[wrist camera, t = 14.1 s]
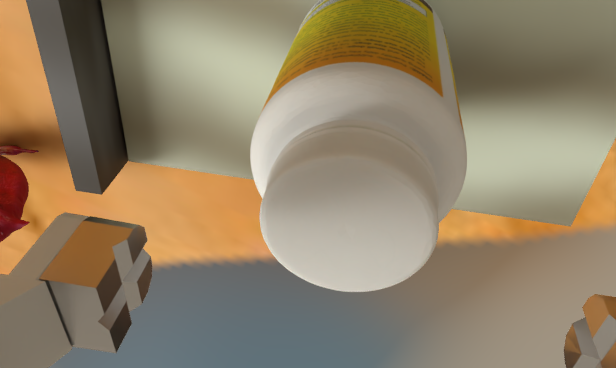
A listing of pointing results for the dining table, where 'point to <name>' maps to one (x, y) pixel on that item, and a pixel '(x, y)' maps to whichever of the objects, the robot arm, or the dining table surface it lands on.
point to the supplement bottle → (360, 145)
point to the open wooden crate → (267, 64)
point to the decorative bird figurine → (12, 192)
